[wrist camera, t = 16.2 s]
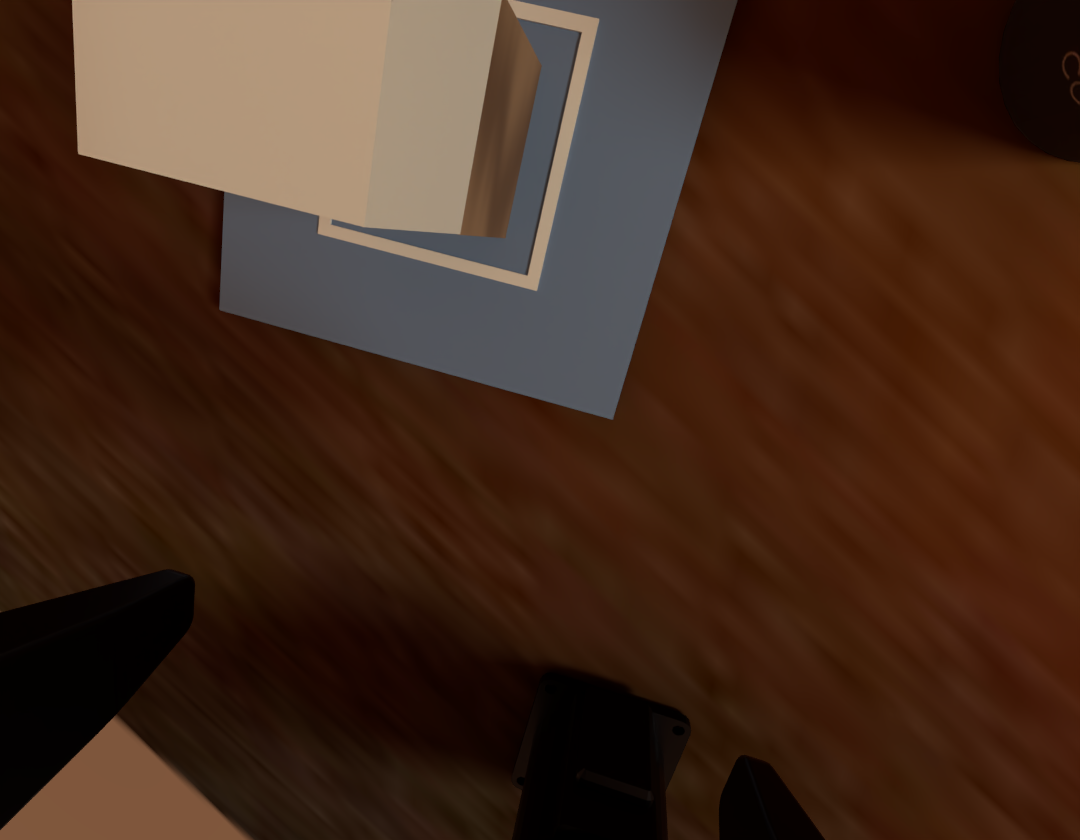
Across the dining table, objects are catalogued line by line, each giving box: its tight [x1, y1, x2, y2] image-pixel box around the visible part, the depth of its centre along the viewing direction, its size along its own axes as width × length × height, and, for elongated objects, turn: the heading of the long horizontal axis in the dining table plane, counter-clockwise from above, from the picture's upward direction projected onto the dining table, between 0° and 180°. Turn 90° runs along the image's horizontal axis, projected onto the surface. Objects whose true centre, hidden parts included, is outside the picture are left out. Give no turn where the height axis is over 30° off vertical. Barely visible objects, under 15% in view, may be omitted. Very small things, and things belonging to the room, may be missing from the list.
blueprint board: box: [219, 0, 737, 420], centre depth 18 cm, size 15×15×1 cm
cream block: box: [72, 0, 502, 234], centre depth 10 cm, size 5×5×5 cm
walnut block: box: [458, 0, 542, 238], centre depth 15 cm, size 5×5×5 cm
